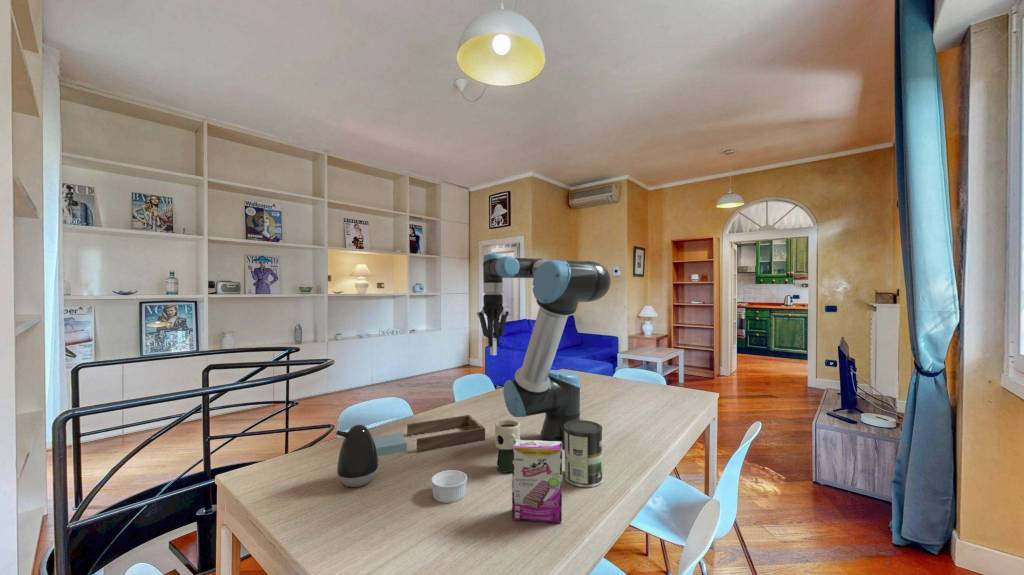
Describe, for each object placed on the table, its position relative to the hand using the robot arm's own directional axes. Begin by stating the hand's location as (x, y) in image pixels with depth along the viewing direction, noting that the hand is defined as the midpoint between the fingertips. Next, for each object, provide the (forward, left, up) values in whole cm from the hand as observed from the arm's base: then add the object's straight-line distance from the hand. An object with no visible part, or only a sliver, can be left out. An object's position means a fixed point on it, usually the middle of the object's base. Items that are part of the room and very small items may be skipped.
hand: (493, 354), depth 151 cm
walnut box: (-7, +21, -26) cm, 34 cm away
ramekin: (-44, +31, -26) cm, 60 cm away
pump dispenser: (-27, +51, -26) cm, 64 cm away
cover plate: (-7, +41, -27) cm, 49 cm away
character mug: (-38, +12, -26) cm, 48 cm away
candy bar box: (-62, +16, -26) cm, 70 cm away
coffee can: (-52, -4, -26) cm, 59 cm away
